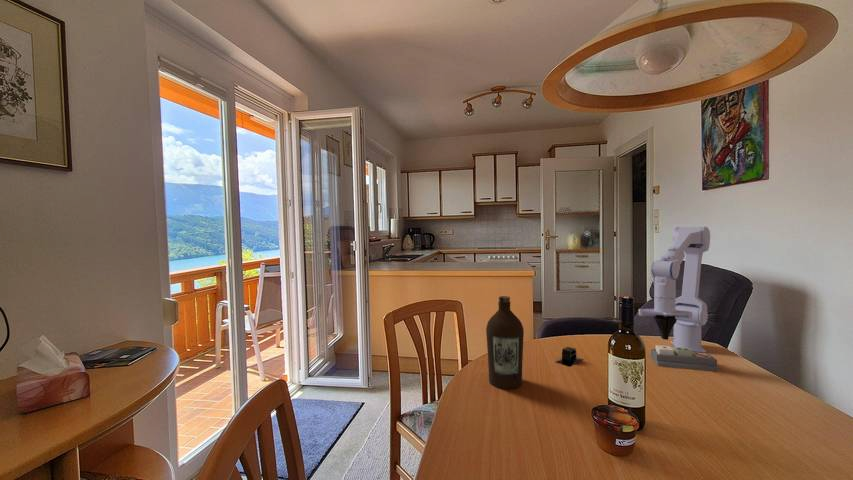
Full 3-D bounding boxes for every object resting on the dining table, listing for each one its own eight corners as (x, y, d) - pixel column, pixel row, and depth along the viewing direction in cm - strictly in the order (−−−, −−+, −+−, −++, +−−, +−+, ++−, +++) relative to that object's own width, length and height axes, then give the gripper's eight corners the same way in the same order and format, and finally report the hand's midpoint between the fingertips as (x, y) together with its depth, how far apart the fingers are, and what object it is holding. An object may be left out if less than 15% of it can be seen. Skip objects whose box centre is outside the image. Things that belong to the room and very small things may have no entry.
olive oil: (486, 373, 106) (485, 293, 105) (521, 375, 105) (521, 293, 104) (487, 389, 96) (486, 300, 95) (526, 391, 94) (525, 301, 93)
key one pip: (655, 351, 115) (655, 344, 115) (669, 352, 114) (669, 345, 114) (659, 355, 111) (659, 348, 111) (674, 356, 110) (674, 349, 110)
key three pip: (691, 358, 112) (691, 351, 112) (705, 359, 111) (705, 353, 110) (696, 362, 108) (696, 356, 108) (711, 364, 107) (711, 357, 107)
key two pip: (673, 352, 113) (673, 346, 113) (687, 353, 112) (687, 347, 112) (677, 356, 110) (677, 350, 109) (692, 358, 108) (692, 351, 108)
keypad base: (650, 356, 117) (650, 347, 117) (706, 361, 112) (706, 352, 112) (657, 365, 110) (658, 355, 110) (718, 371, 105) (718, 361, 104)
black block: (569, 370, 109) (569, 356, 108) (548, 363, 114) (548, 350, 114) (588, 360, 116) (588, 347, 116) (568, 354, 122) (568, 342, 122)
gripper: (642, 298, 110) (642, 340, 111) (696, 300, 106) (696, 344, 106) (636, 294, 117) (636, 334, 117) (687, 296, 112) (687, 337, 113)
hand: (664, 338), depth 112 cm, fingers closed
